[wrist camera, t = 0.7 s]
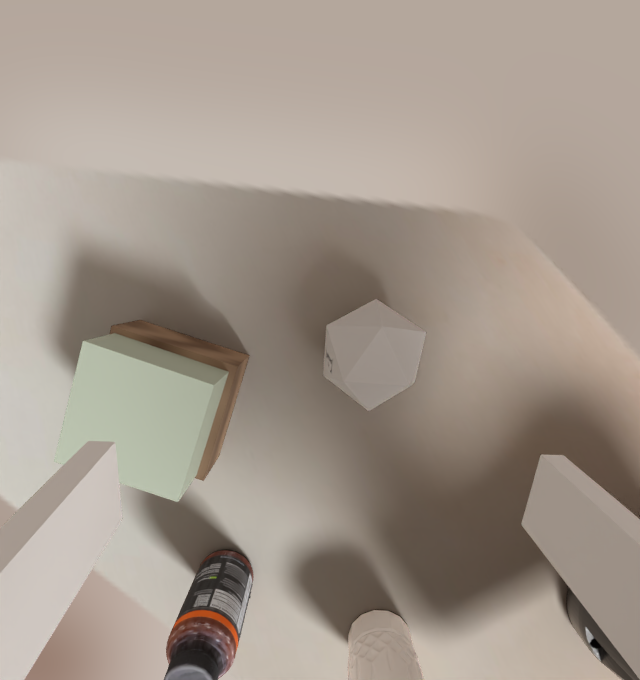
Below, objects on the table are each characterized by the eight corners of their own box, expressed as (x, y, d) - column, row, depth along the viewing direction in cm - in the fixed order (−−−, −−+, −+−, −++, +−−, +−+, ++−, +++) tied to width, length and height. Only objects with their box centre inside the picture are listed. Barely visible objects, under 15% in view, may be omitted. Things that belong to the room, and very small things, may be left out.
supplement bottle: (224, 605, 40) (183, 732, 28) (188, 566, 39) (132, 681, 28) (266, 576, 39) (241, 695, 28) (230, 536, 38) (190, 642, 27)
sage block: (228, 371, 30) (214, 385, 27) (196, 475, 32) (177, 502, 28) (114, 333, 30) (82, 340, 26) (87, 439, 32) (53, 461, 28)
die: (360, 281, 34) (299, 316, 27) (450, 306, 30) (406, 355, 23) (352, 354, 38) (296, 400, 31) (430, 385, 34) (387, 446, 27)
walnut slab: (250, 354, 35) (237, 366, 30) (220, 454, 37) (203, 480, 32) (142, 319, 35) (111, 325, 30) (116, 421, 37) (84, 443, 32)
